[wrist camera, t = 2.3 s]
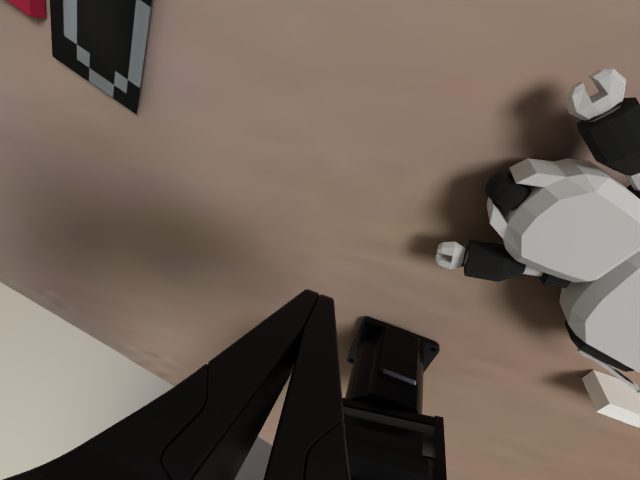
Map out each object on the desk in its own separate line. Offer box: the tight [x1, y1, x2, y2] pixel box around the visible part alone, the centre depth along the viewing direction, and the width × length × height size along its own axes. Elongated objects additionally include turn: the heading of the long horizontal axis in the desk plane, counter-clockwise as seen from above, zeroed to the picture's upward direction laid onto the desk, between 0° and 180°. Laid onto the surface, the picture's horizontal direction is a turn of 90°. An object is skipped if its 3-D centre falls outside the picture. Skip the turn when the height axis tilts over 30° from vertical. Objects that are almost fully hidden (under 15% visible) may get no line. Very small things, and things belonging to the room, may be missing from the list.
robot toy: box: [436, 69, 640, 395], centre depth 15 cm, size 12×4×15 cm
